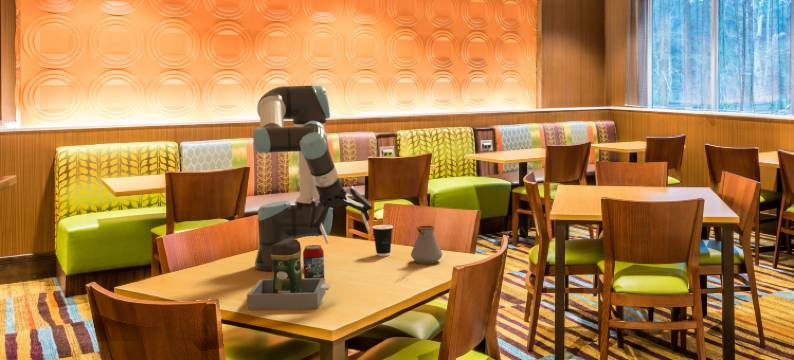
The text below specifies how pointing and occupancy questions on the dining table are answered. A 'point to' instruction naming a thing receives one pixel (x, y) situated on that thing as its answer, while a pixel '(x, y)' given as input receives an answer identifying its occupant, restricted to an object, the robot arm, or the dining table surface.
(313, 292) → the tray
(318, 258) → the beverage can
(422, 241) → the coffee pot
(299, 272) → the coffee jar
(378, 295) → the dining table surface
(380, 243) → the dixie cup
